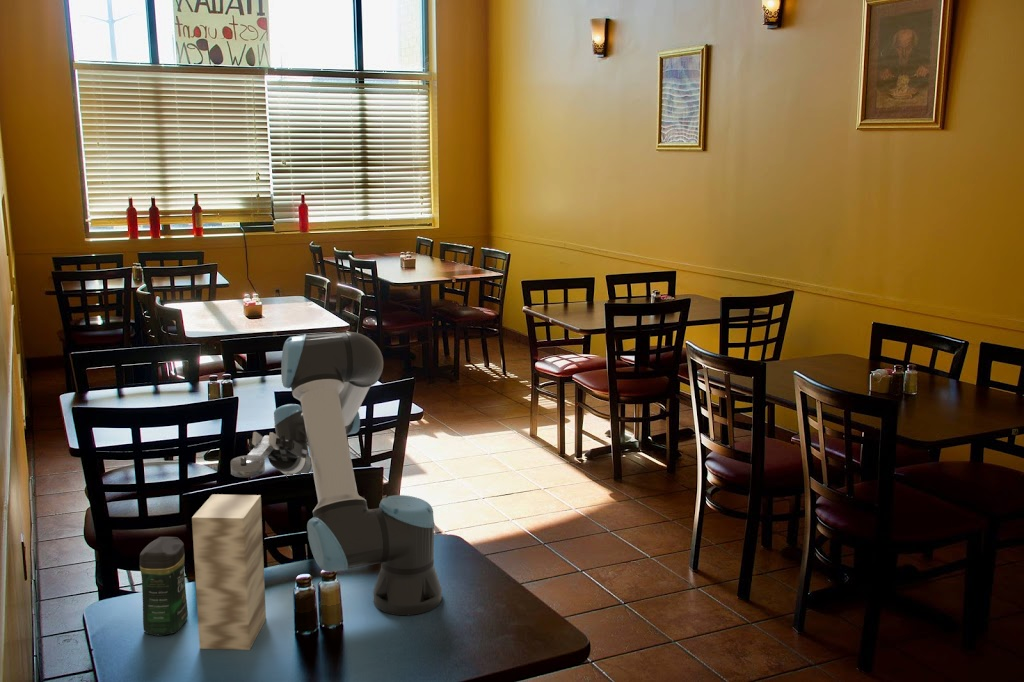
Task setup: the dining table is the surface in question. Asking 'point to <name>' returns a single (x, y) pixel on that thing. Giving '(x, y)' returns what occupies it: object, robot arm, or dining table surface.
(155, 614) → the coffee jar
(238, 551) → the birch pedestal
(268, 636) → the dining table surface
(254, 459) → the pin spanner
